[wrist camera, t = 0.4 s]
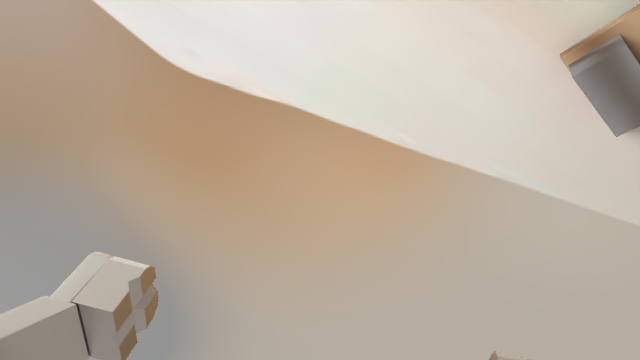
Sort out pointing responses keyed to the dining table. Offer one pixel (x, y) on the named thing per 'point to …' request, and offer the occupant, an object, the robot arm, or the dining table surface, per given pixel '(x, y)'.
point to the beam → (611, 71)
